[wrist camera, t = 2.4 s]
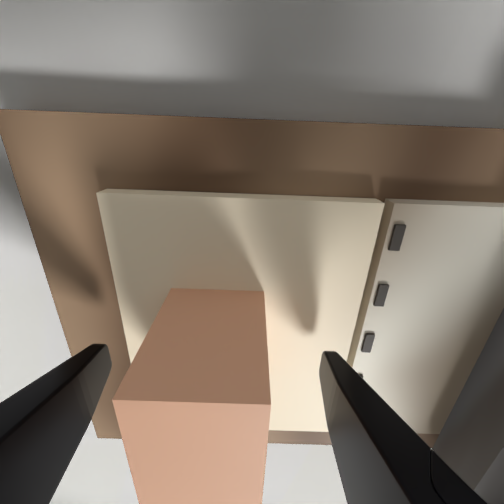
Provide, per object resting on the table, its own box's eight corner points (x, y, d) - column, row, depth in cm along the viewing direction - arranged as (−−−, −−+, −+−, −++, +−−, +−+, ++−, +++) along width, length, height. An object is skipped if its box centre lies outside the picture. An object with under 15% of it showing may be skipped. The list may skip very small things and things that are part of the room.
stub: (375, 198, 8) (506, 270, 4) (325, 418, 12) (363, 567, 8) (107, 188, 8) (-53, 251, 4) (148, 412, 12) (93, 560, 8)
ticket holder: (743, 139, 8) (1066, 144, 5) (531, 430, 14) (616, 522, 11) (21, 111, 8) (-137, 97, 5) (108, 417, 14) (62, 506, 11)
